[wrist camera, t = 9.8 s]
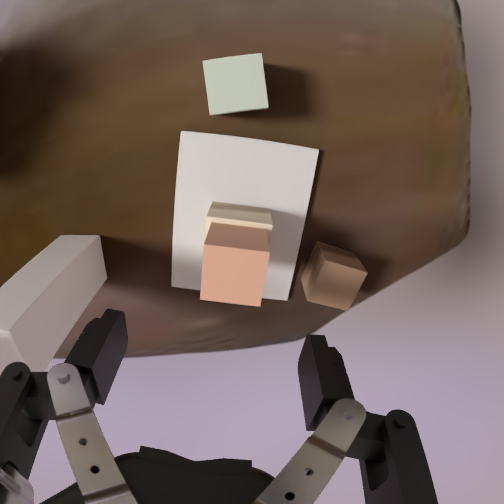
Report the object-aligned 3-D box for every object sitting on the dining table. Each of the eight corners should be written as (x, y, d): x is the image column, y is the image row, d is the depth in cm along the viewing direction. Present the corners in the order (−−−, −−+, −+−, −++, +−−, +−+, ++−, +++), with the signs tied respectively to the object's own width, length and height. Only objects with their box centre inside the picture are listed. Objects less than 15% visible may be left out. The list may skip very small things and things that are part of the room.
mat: (182, 130, 30) (181, 131, 29) (317, 149, 31) (319, 149, 30) (172, 283, 37) (171, 286, 36) (286, 297, 38) (287, 300, 37)
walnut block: (316, 240, 35) (326, 260, 30) (354, 252, 36) (367, 272, 31) (300, 277, 37) (307, 300, 32) (337, 287, 38) (347, 310, 33)
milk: (70, 275, 37) (-22, 392, 17) (61, 233, 34) (-53, 340, 14) (108, 278, 37) (22, 412, 17) (101, 233, 34) (-13, 357, 14)
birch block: (212, 201, 32) (206, 216, 28) (269, 208, 33) (272, 224, 28) (207, 253, 35) (201, 274, 30) (260, 259, 35) (262, 282, 31)
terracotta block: (211, 222, 28) (204, 244, 23) (266, 228, 28) (270, 252, 24) (206, 271, 30) (200, 299, 25) (258, 277, 30) (260, 306, 26)
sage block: (209, 69, 27) (202, 61, 22) (259, 62, 27) (261, 53, 22) (215, 115, 29) (209, 114, 25) (265, 109, 29) (268, 107, 24)
